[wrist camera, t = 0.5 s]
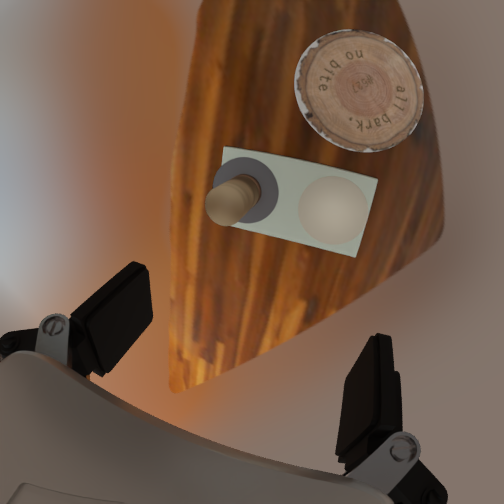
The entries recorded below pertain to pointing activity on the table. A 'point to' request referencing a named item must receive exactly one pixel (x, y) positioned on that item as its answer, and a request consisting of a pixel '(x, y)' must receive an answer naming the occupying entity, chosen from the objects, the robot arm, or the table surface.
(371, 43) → the brown bark cylinder
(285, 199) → the board
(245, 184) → the beige rounded cylinder
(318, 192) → the cream pad
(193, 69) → the table surface
